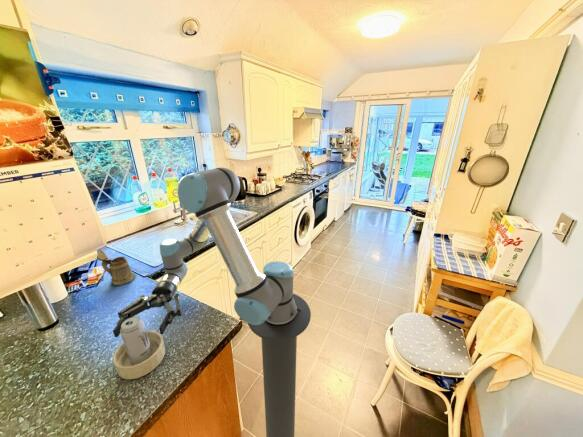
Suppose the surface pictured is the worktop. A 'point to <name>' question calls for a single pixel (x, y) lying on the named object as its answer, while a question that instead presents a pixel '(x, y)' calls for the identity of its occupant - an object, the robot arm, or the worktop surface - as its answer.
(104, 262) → the wooden mug
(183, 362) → the worktop surface
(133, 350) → the energy drink can
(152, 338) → the bowl
